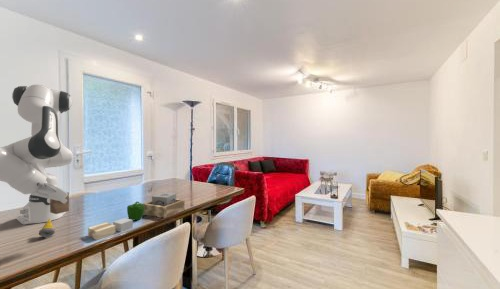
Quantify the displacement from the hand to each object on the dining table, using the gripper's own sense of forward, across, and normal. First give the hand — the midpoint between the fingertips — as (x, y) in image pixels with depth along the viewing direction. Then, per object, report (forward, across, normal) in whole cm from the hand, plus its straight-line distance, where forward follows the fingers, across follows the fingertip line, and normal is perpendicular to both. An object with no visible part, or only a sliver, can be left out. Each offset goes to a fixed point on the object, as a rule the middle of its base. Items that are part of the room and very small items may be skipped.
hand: (61, 200), depth 95 cm
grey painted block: (+27, -11, -2) cm, 29 cm away
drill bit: (+13, +13, +13) cm, 22 cm away
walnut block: (+3, 0, +4) cm, 4 cm away
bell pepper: (+36, -5, -10) cm, 37 cm away
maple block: (+21, -8, +4) cm, 23 cm away
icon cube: (+48, -9, -22) cm, 54 cm away
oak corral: (+47, -10, -22) cm, 53 cm away
